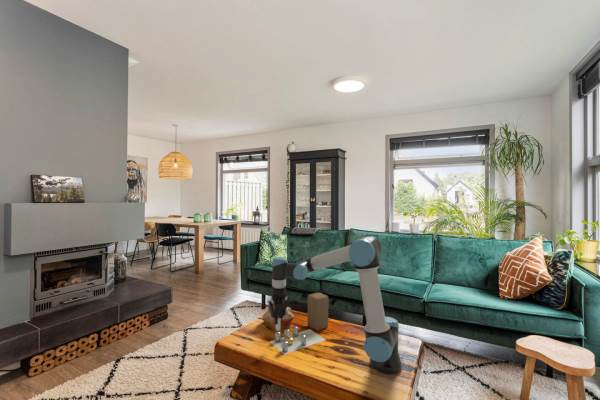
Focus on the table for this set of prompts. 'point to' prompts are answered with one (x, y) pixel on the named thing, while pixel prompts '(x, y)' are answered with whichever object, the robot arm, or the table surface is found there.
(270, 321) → the ceramic vessel
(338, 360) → the table surface
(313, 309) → the wooden block
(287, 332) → the spacers
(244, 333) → the table surface
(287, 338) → the brass round knob
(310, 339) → the board
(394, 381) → the table surface
